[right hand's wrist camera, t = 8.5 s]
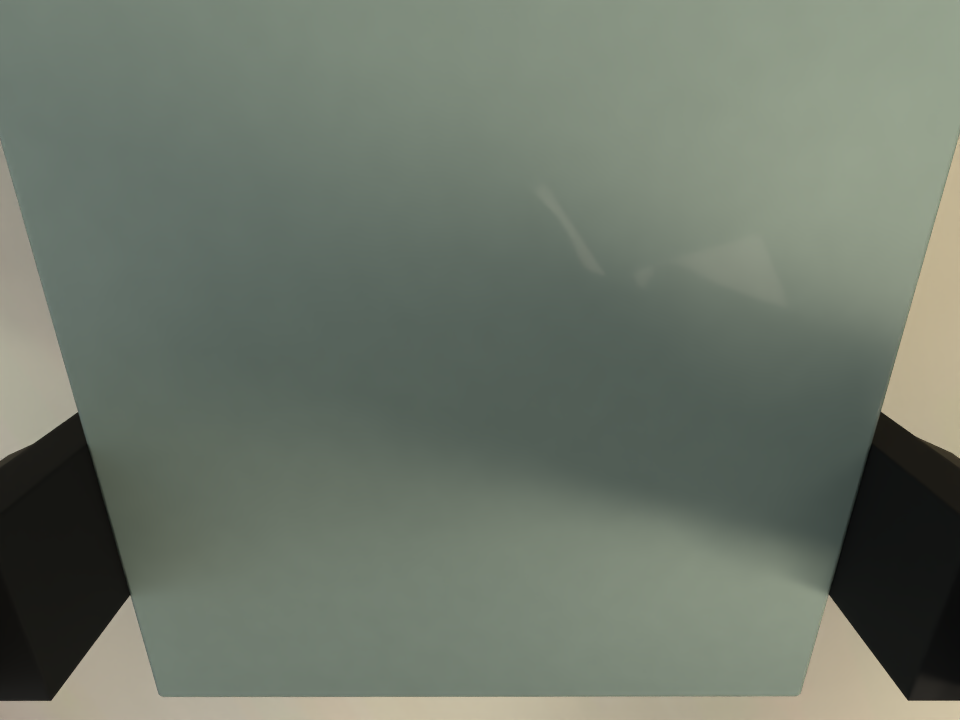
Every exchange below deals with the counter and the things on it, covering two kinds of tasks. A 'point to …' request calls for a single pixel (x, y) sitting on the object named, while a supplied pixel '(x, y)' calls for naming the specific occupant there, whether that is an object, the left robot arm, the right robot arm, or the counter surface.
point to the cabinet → (479, 323)
